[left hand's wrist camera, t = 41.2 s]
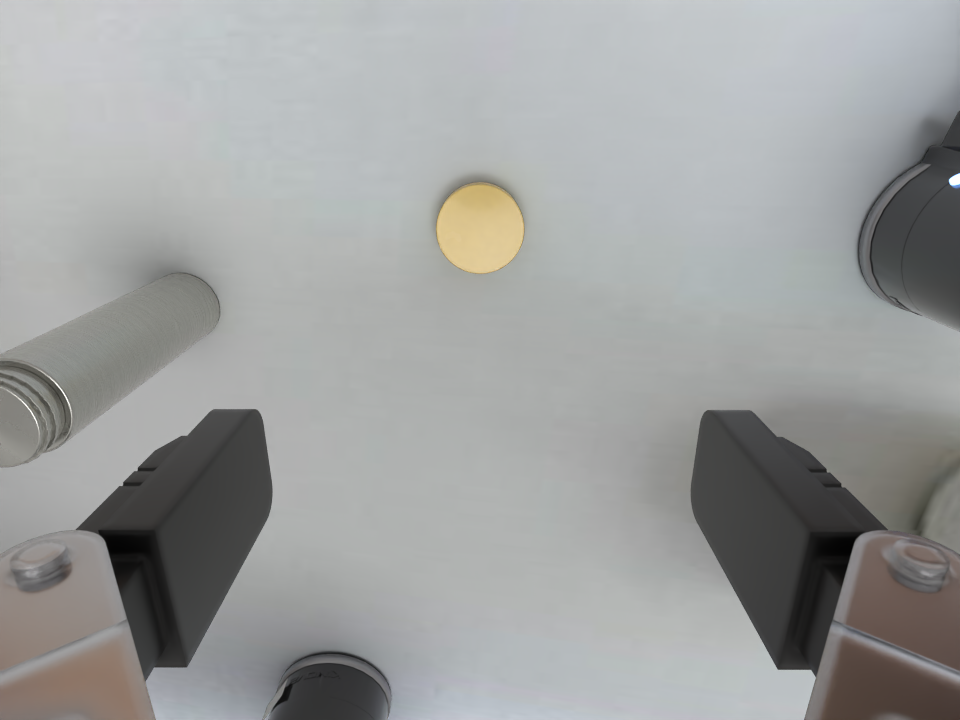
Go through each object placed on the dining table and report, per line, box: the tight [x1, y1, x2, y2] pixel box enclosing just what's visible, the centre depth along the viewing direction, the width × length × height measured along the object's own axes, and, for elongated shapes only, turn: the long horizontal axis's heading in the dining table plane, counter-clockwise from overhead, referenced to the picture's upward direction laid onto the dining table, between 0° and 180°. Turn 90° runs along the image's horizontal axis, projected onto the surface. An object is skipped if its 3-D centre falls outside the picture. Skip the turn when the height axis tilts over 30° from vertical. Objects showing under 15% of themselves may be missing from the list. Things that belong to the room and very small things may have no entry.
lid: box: [436, 182, 524, 274], centre depth 36 cm, size 5×5×2 cm
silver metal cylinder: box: [0, 273, 220, 467], centre depth 31 cm, size 4×4×16 cm
